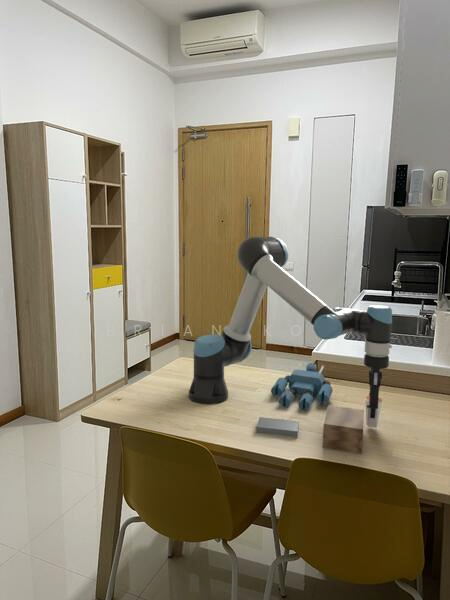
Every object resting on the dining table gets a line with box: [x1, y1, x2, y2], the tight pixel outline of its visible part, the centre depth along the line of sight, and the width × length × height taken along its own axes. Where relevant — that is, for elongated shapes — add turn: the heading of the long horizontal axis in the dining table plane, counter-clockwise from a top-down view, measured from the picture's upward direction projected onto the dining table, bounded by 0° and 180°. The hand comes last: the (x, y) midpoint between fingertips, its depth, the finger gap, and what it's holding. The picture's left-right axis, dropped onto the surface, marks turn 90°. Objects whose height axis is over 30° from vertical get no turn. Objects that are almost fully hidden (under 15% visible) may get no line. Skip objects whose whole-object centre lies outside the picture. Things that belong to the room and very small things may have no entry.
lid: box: [255, 416, 300, 438], centre depth 146 cm, size 13×8×2 cm, turn 78°
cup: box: [364, 396, 383, 428], centre depth 147 cm, size 5×5×12 cm
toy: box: [270, 362, 333, 411], centre depth 177 cm, size 22×9×30 cm
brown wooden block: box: [322, 405, 365, 455], centre depth 140 cm, size 11×15×8 cm
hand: (371, 423), depth 148 cm, fingers closed on cup, 5 cm apart
